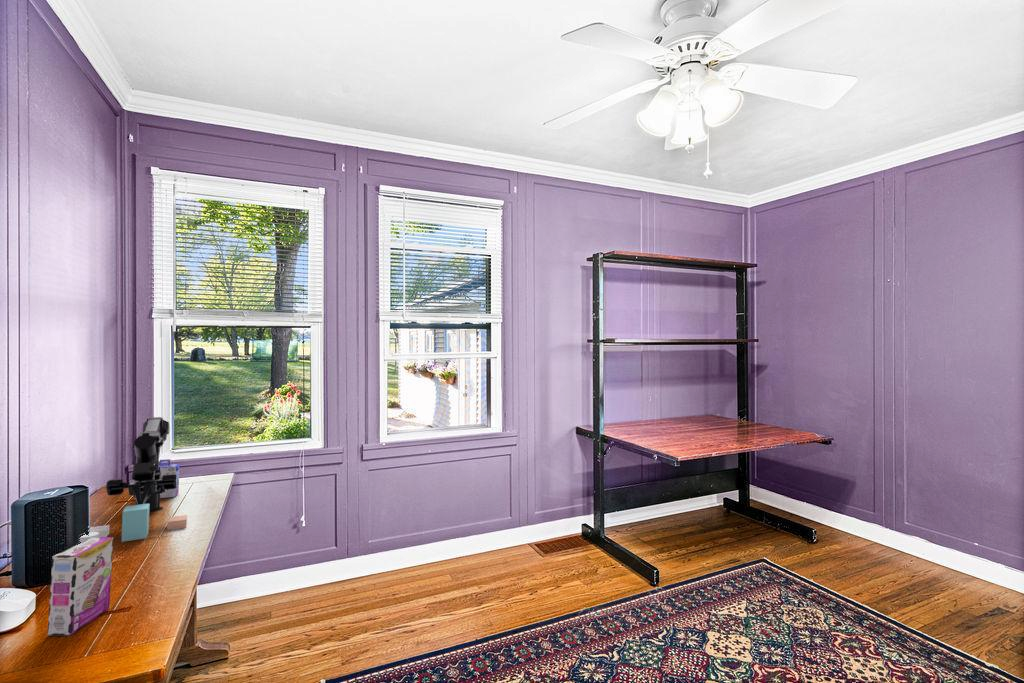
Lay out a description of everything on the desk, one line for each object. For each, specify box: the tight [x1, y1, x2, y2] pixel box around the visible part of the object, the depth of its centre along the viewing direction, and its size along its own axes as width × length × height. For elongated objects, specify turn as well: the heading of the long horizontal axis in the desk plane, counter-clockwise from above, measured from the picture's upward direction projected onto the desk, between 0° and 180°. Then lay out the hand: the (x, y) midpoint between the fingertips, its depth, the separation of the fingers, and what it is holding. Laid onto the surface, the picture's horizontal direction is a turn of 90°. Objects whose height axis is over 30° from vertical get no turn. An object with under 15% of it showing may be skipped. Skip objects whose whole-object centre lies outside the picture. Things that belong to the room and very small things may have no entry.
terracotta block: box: [166, 514, 188, 531], centre depth 161 cm, size 5×5×4 cm
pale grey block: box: [90, 524, 110, 537], centre depth 150 cm, size 5×5×4 cm
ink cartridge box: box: [159, 458, 180, 499], centre depth 197 cm, size 10×6×14 cm, turn 112°
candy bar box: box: [47, 536, 114, 637], centre depth 107 cm, size 11×5×16 cm, turn 5°
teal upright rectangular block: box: [121, 503, 150, 543], centre depth 151 cm, size 6×6×9 cm
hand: (140, 507), depth 159 cm, fingers closed
